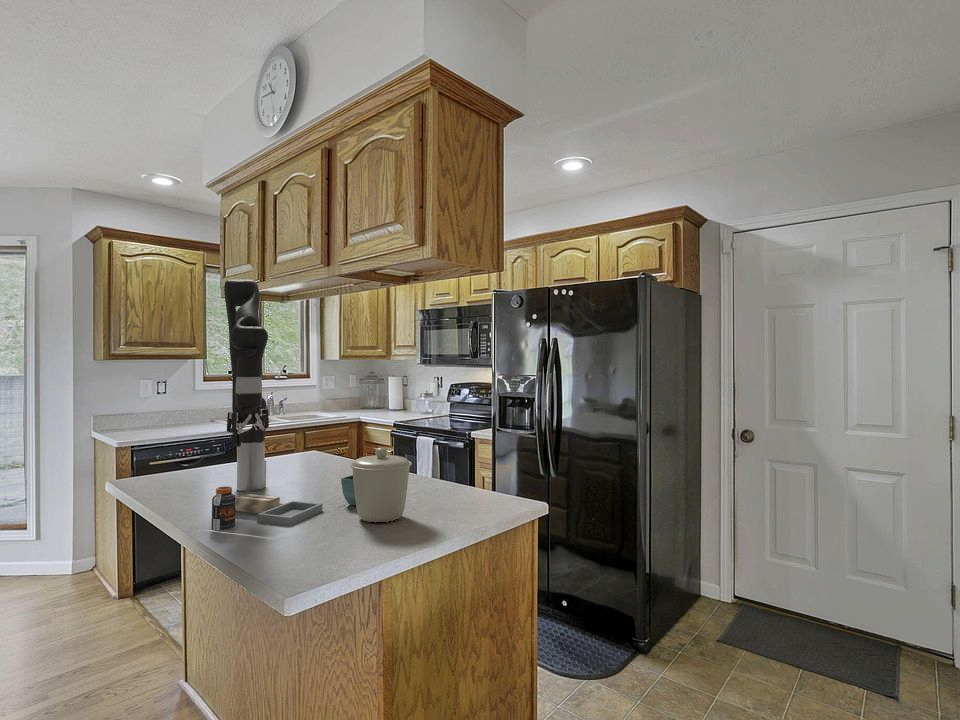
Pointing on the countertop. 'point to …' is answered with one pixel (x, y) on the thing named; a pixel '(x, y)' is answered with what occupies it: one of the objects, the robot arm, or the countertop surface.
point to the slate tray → (289, 513)
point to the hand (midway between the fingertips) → (248, 444)
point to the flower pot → (348, 489)
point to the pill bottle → (223, 509)
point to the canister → (380, 486)
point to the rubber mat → (246, 515)
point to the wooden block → (256, 503)
